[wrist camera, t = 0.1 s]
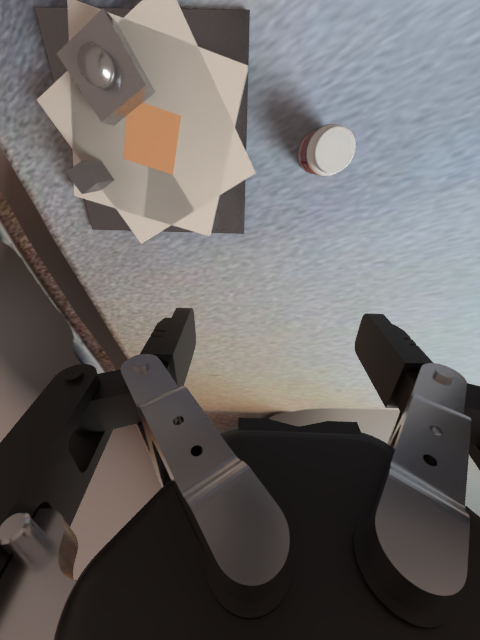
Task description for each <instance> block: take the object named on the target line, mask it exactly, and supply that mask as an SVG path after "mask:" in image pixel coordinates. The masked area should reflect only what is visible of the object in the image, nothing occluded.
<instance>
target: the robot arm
mask: <svg viewBox="0 0 480 640" xmlns="http://www.w3.org/2000/svg"><path fill="white" fill-rule="evenodd" d="M195 345H196V332H195V321H194V311H193V308H176V310H175V312H174V314H173V316H172V318H164V319H163V320H162V321H160V322H159V323H158V324H157V325H156V327H155V329H154V331H153V332H152V334H151V337H150V338H149V339H148V341H147V343H146V344H145V346H144V348H143V350H142V351H141V353H140V355H136V356H134V357H131V358H129V359H128V360H127V361H125V362H124V363H123V365H122V367H121V369H120V370H116V371H111V372H106V373H100V374H97V371H96V368H95V367H93V366H92V365H88V364H80V365H75V366H71V367H69V368H66V369H64V370H63V371H61V372H60V373H58V374H57V375H56V376H55V377H54V378H53V379H52V381H51V382H50V383H49V384H48V386H47V387H46V388H45V389H44V390H43V392H42V393H41V394H40V395H39V396H38V398H37V399H36V400H35V401H34V402H33V404H32V405H31V406H30V407H29V409H28V410H27V411H26V412H25V414H24V415H23V416H22V417H21V418H20V420H19V421H18V422H17V423H16V424H15V426H14V427H13V428H12V429H11V431H10V432H9V433H8V434H7V436H6V437H5V438H4V439H3V440H2V442H1V443H0V640H480V517H479V516H478V515H477V514H475V513H474V512H473V511H471V510H470V509H469V508H468V507H467V506H465V497H466V484H467V483H466V482H467V471H468V458H469V455H470V456H471V458H472V459H473V461H474V462H475V464H476V465H477V467H478V468H479V470H480V386H476V385H472V384H468V383H467V382H466V380H465V378H464V377H463V376H462V375H461V374H460V373H458V372H457V371H455V370H453V369H451V368H449V367H447V366H444V365H441V364H436V363H433V362H432V361H431V360H430V359H429V358H428V357H427V356H426V355H425V353H424V352H423V351H422V350H421V349H420V348H419V347H418V346H416V343H415V342H414V341H413V340H411V338H410V337H409V336H408V335H407V333H406V332H405V331H403V330H402V329H400V328H399V327H397V326H395V325H392V324H391V322H390V321H389V320H388V319H387V318H386V317H385V316H384V315H383V314H364V315H363V317H362V320H361V324H360V327H359V330H358V334H357V337H356V341H355V351H356V354H357V356H358V358H359V360H360V362H361V363H362V365H363V367H364V369H365V371H366V372H367V374H368V376H369V378H370V380H371V382H372V383H373V385H374V387H375V389H376V391H377V393H378V394H379V396H380V398H381V400H382V402H383V404H384V405H385V407H386V408H399V410H400V412H399V415H398V417H397V419H396V422H395V425H394V427H393V430H392V433H391V435H390V438H389V441H388V444H387V443H385V442H383V441H381V440H379V439H377V438H375V437H373V436H370V435H368V434H365V433H361V431H360V429H359V426H358V424H357V422H335V421H326V422H321V423H316V424H311V425H306V426H301V427H298V426H293V425H289V424H285V423H281V422H278V421H273V420H270V419H257V418H239V420H238V427H236V428H231V429H228V430H226V431H223V432H221V433H219V432H218V431H217V429H216V428H215V426H214V425H213V424H212V422H211V421H210V419H209V418H208V417H207V415H206V414H205V413H204V411H203V410H202V408H201V407H200V406H199V404H198V403H197V401H196V400H195V399H194V397H193V396H192V395H191V393H190V392H189V390H188V389H187V388H186V387H185V386H184V383H185V380H186V376H187V373H188V370H189V366H190V363H191V360H192V356H193V353H194V350H195ZM132 424H136V425H137V427H138V429H139V432H140V434H141V437H142V439H143V441H144V443H145V446H146V448H147V450H148V453H149V455H150V457H151V460H152V462H153V465H154V468H155V471H156V474H157V476H158V479H159V481H160V484H161V486H162V488H161V489H160V490H159V491H158V492H157V493H156V494H155V495H154V496H153V498H151V500H150V501H149V502H148V503H147V504H146V505H145V506H144V507H143V508H142V509H141V510H140V511H139V512H138V513H137V514H136V515H135V516H134V517H133V518H132V519H131V520H130V521H129V522H128V523H127V524H126V525H125V526H124V527H123V528H122V529H121V530H120V531H119V532H118V533H117V534H116V535H115V536H114V537H113V538H112V539H111V541H109V542H108V543H107V544H106V545H105V546H104V547H103V548H102V550H100V551H99V553H98V554H97V555H96V556H95V557H94V558H93V559H92V560H91V561H90V563H89V564H88V565H87V567H86V568H85V569H84V571H83V572H82V574H81V575H80V577H79V578H78V580H74V579H73V567H74V563H75V559H76V555H77V550H78V541H77V537H76V535H75V534H74V532H73V531H72V529H71V528H70V526H71V523H72V521H73V519H74V517H75V514H76V512H77V510H78V508H79V505H80V503H81V501H82V499H83V496H84V494H85V492H86V489H87V487H88V485H89V483H90V480H91V478H92V476H93V474H94V471H95V469H96V467H97V465H98V462H99V460H100V458H101V456H102V453H103V451H104V449H105V446H106V444H107V442H108V440H109V437H110V435H111V433H112V431H113V429H115V428H119V427H124V426H128V425H132Z"/></svg>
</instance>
